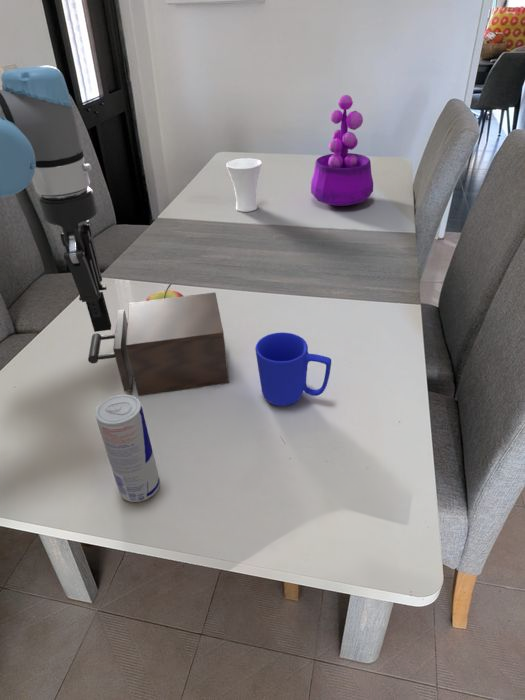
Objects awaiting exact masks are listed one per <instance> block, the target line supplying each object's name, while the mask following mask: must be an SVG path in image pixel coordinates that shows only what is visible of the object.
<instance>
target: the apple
mask: <svg viewBox="0 0 525 700" xmlns="http://www.w3.org/2000/svg"><path fill="white" fill-rule="evenodd" d="M171 286H172V283H169V284H168V286H167V287H166V289H165V290H161V291H158V292H154V293H152V294H150V295H149V296H148V297H147V298H146V299H145V301H149V300H157V299H165V298H173V297H181V296H184V295H183V294H182V293H180V292H178V291H176V290H172V289H171V290H170V287H171Z"/></svg>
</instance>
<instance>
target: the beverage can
mask: <svg viewBox="0 0 525 700" xmlns="http://www.w3.org/2000/svg"><path fill="white" fill-rule="evenodd" d="M94 412H95V413H94V416H95V419H96V423H97V427H98V430H99V432H100V436H101V439H102V442H103V445H104V448H105V451H106V455H107V459H108V461H109V464H110V467H111V470H112V474H113V477H114V479H115V484H116V486H117V490H118V492H119V495H120V497H121V498H122V499H124V500H125V501H127V502H130V503H138V502H143V501H146V500H148V499H150V498H151V497H153V496H154V495H155V494H156V493H157V491H158V490H159V488H160V485H161V480H160V476H159V471H158V467H157V464H156V459H155V456H154V451H153V447H152V443H151V439H150V434H149V431H148V426H147V422H146V418H145V413H144V409H143V407H142V403H141V401H140V400H139V399H138V397H136V396H134V395H131V394H116V395H113V396H110V397H108V398H106V399H104V400H102V401H101V402H100V403H99V404H98V405H97V406H96V408H95V411H94Z"/></svg>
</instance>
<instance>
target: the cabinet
mask: <svg viewBox="0 0 525 700" xmlns="http://www.w3.org/2000/svg"><path fill="white" fill-rule="evenodd" d="M220 313H221V312H220V309H219V303H218V299H217V292H207V293H206V292H205V293H199V294H198V293H197V294H190V295H183V296H181V297H173V298H165V299H157V300H149V301H146V300H142V301H134V302H129V303H128V314H127V315H128V316H127V323H128V326H127V338H126V348H127V352H128V356H129V360H130V364H131V368H132V377H133V379H134V380H133V381H134V384H135V388H136V393H137V396H138V397H140V396H146V395H153V394H154V395H155V394H162V393H167V392H173V391H174V392H175V391H182V390H189V389H194V388H195V389H196V388H202V387H208V386H209V387H210V386H217V385H222V384H230V383H229V382H230V380H229V371H228V361H227V355H226V345H225V335H224V328H223V323H222V318H221V314H220Z"/></svg>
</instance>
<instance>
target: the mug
mask: <svg viewBox="0 0 525 700" xmlns="http://www.w3.org/2000/svg"><path fill="white" fill-rule="evenodd" d="M254 349H255V356H256V362H257V363H256V364H257V369H258V376H259V381H260V388H261V393H262V396H263V397H264V399H265V400H266V401H267V402H268V403H270V404H272V405H275V406H280V407H286V406H290V405H293V404H295V403H297V402H298V401H299V400H301V398H302V395H303V393H305V394H307V395H309V396H312V397H316V396H317V397H318V396H320V395H322V394H323V393H324V392H325V390H326V388H327V386H328V383H329V379H330V376H331V375H330V374H331V369H332V368H331V367H332V358H330V357H328V356H325V355H321V354H315V353H309V346H308V343H307V341H306V340H305V339H304V338H303V337H301V336H300V335H298V334H295V333H291V332H273V333H270V334H267V335H265V336H263V337H262V338H260V339H259V340H258V341H257V342H256V344H255V348H254ZM310 362H315V363H316V362H317V363H321V364H324V365H325V372H324V379H323V382H322V385H321V386H320V387H319V388H315V389H313V388H310V387H309V386H307V377H308V365H309V363H310Z"/></svg>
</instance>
